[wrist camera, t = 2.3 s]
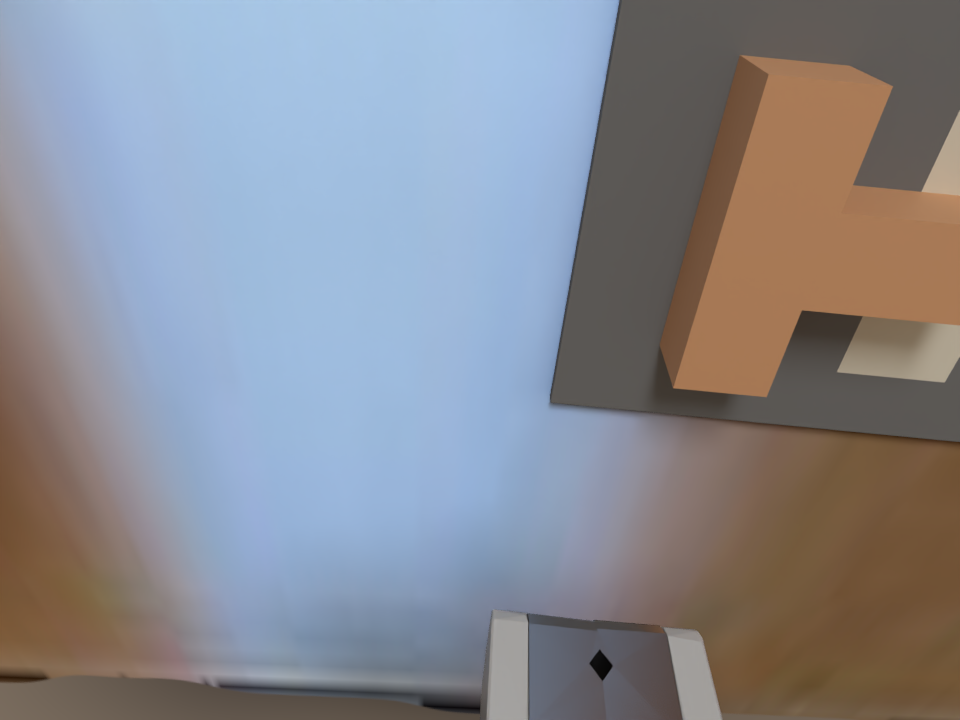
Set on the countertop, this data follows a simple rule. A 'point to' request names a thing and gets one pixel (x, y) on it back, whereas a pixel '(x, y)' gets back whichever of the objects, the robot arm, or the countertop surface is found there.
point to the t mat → (677, 190)
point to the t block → (800, 229)
